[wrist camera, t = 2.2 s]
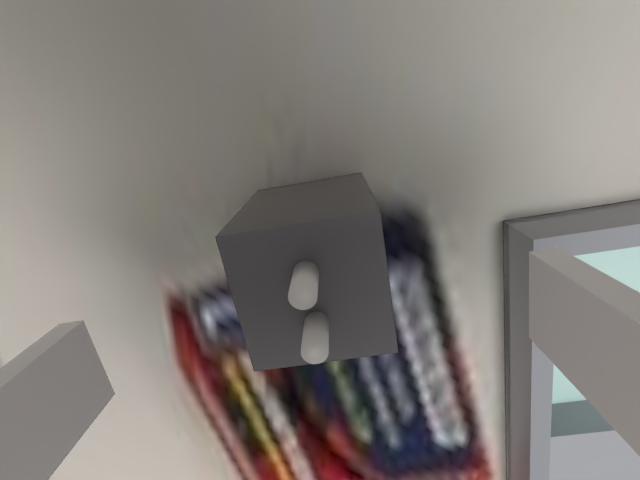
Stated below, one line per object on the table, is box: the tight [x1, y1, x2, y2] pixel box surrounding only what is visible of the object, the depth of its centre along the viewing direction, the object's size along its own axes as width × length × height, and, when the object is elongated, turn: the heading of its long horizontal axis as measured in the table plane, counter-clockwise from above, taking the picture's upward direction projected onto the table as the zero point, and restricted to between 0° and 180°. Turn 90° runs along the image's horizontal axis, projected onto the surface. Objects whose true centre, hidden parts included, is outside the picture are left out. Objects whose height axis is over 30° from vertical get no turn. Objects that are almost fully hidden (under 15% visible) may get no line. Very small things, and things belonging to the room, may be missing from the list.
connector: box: [215, 173, 398, 371], centre depth 14 cm, size 5×5×9 cm
